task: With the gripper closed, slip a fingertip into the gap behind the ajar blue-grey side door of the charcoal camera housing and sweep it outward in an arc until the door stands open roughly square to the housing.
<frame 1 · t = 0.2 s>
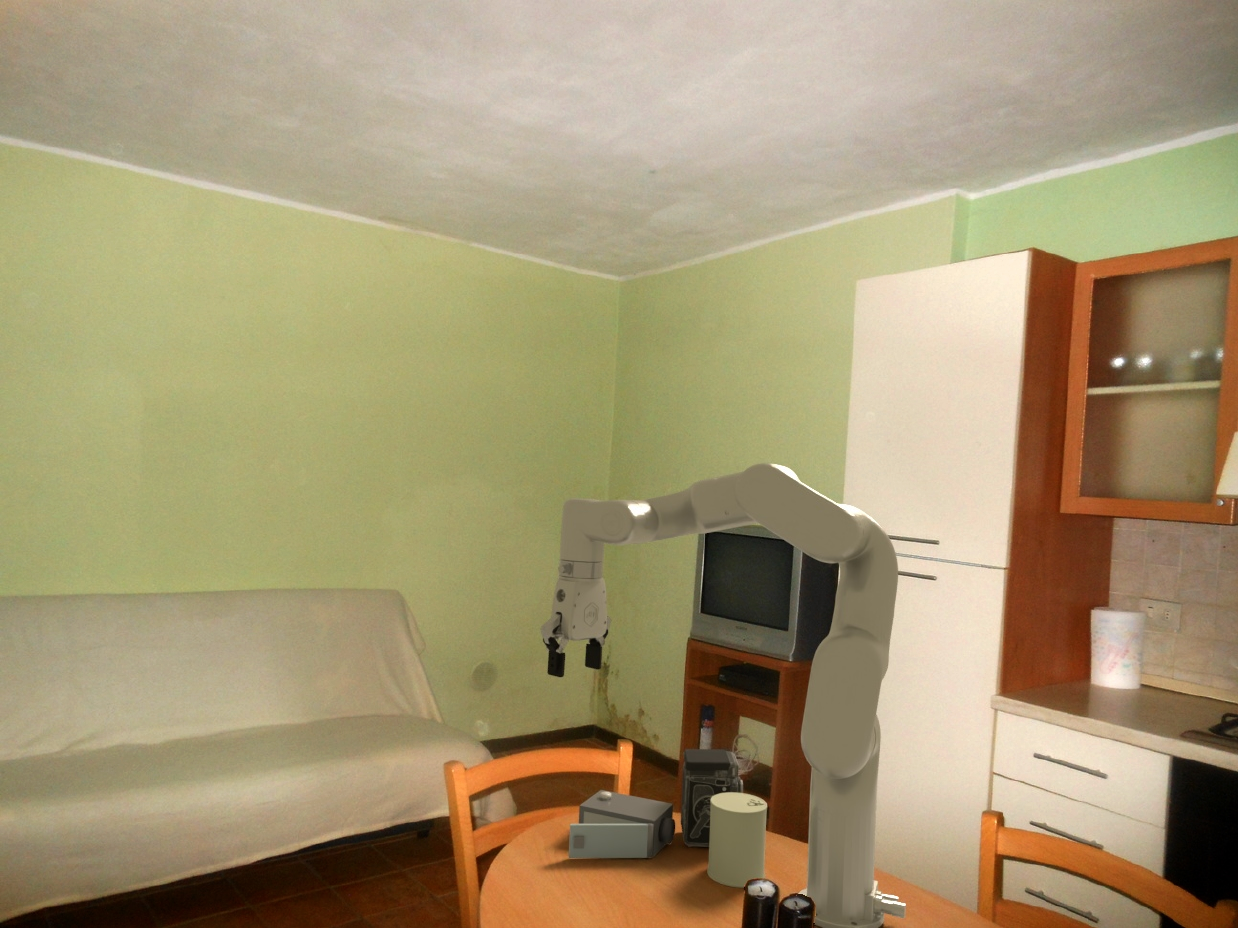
hand: (574, 671, 144), 30 cm above the table, fingers open, 9 cm apart
camera: (711, 841, 149), on the table
can: (735, 875, 136), on the table
housing: (625, 839, 148), on the table
side door: (611, 841, 140), point 3 cm above the table, hinge at 30.0°
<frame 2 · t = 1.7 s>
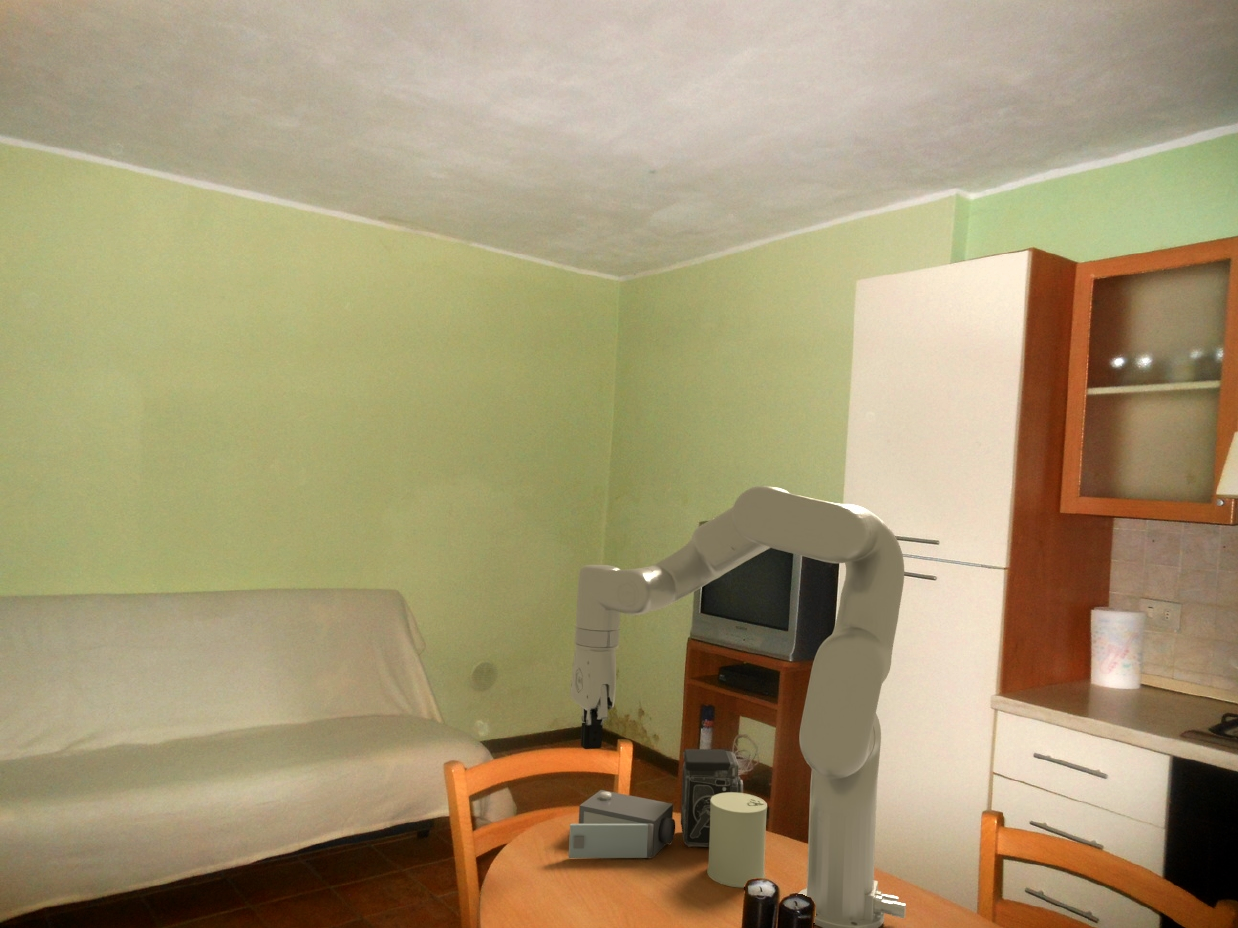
hand: (590, 746, 143), 17 cm above the table, fingers closed
nothing on the table moved.
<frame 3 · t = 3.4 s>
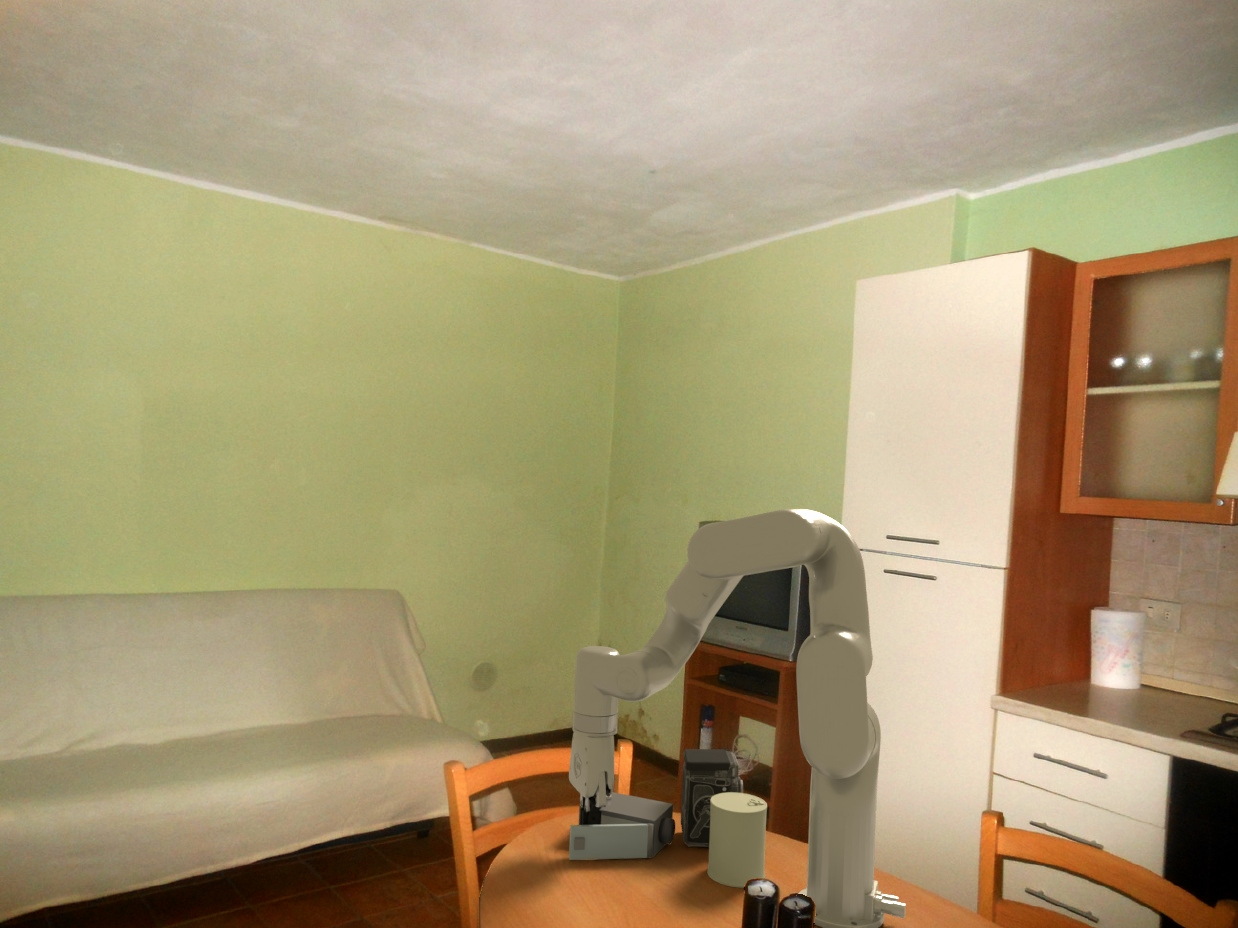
hand: (589, 832, 141), 4 cm above the table, fingers closed
side door: (611, 841, 139), point 3 cm above the table, hinge at 32.8°, touching gripper
everything else where it was.
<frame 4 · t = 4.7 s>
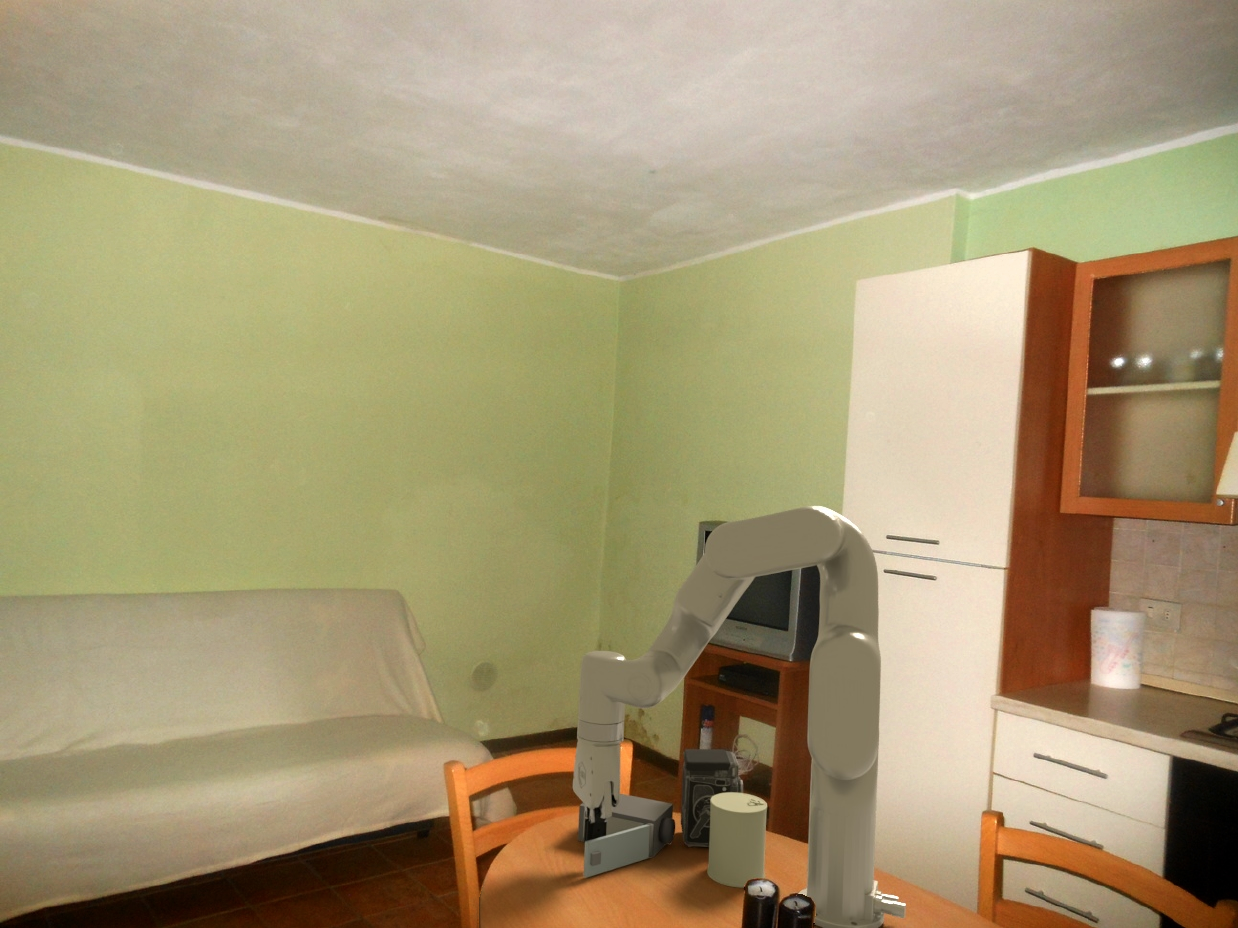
hand: (594, 844, 136), 4 cm above the table, fingers closed
side door: (620, 849, 136), point 3 cm above the table, hinge at 62.6°, touching gripper
everything else where it was.
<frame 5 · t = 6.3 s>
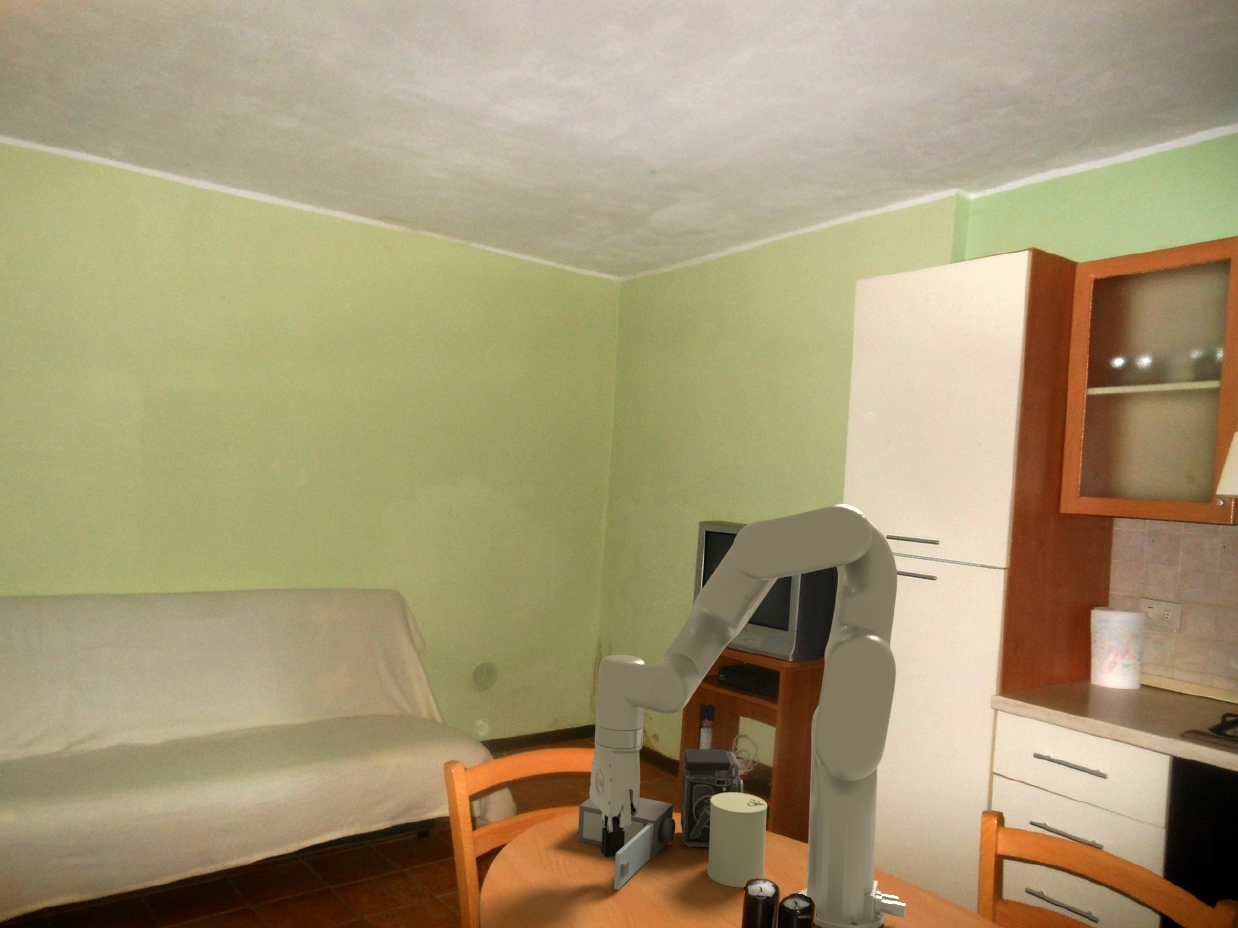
hand: (612, 853, 132), 4 cm above the table, fingers closed
side door: (635, 854, 135), point 3 cm above the table, hinge at 89.4°, touching gripper
everything else where it was.
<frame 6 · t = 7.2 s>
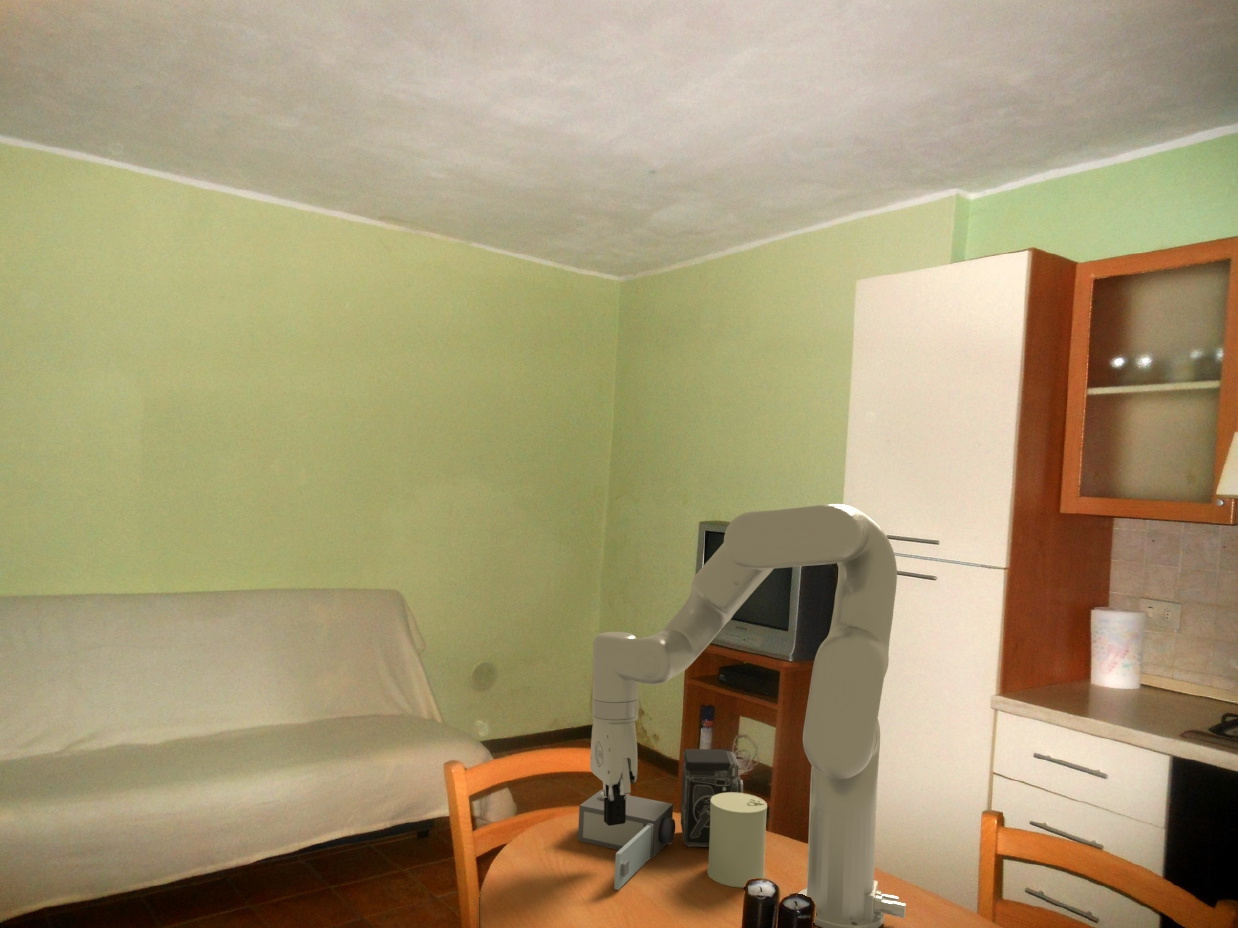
hand: (614, 822, 138), 7 cm above the table, fingers closed
side door: (635, 854, 135), point 3 cm above the table, hinge at 89.5°
everything else where it was.
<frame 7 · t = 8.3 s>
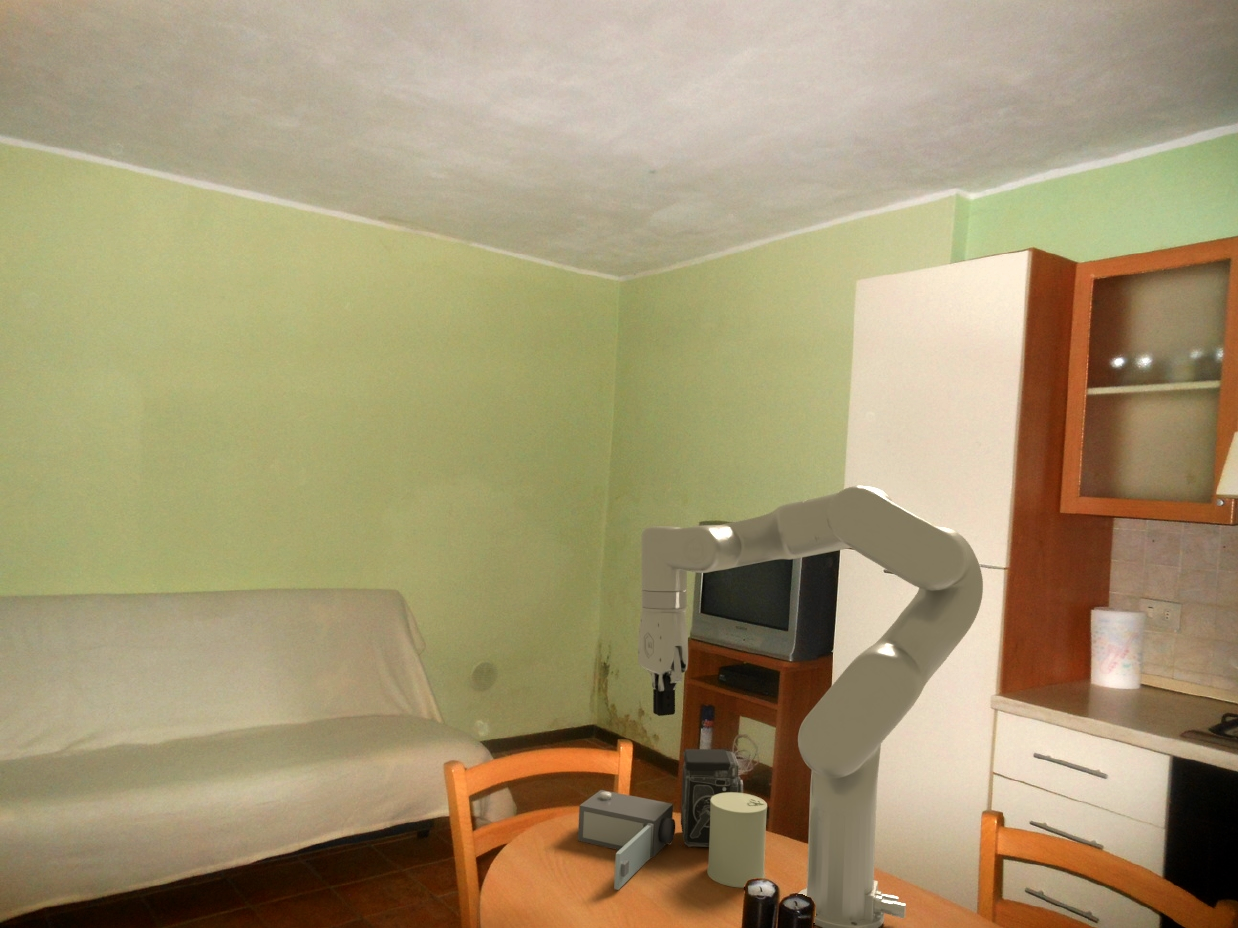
hand: (664, 713, 139), 25 cm above the table, fingers closed
nothing on the table moved.
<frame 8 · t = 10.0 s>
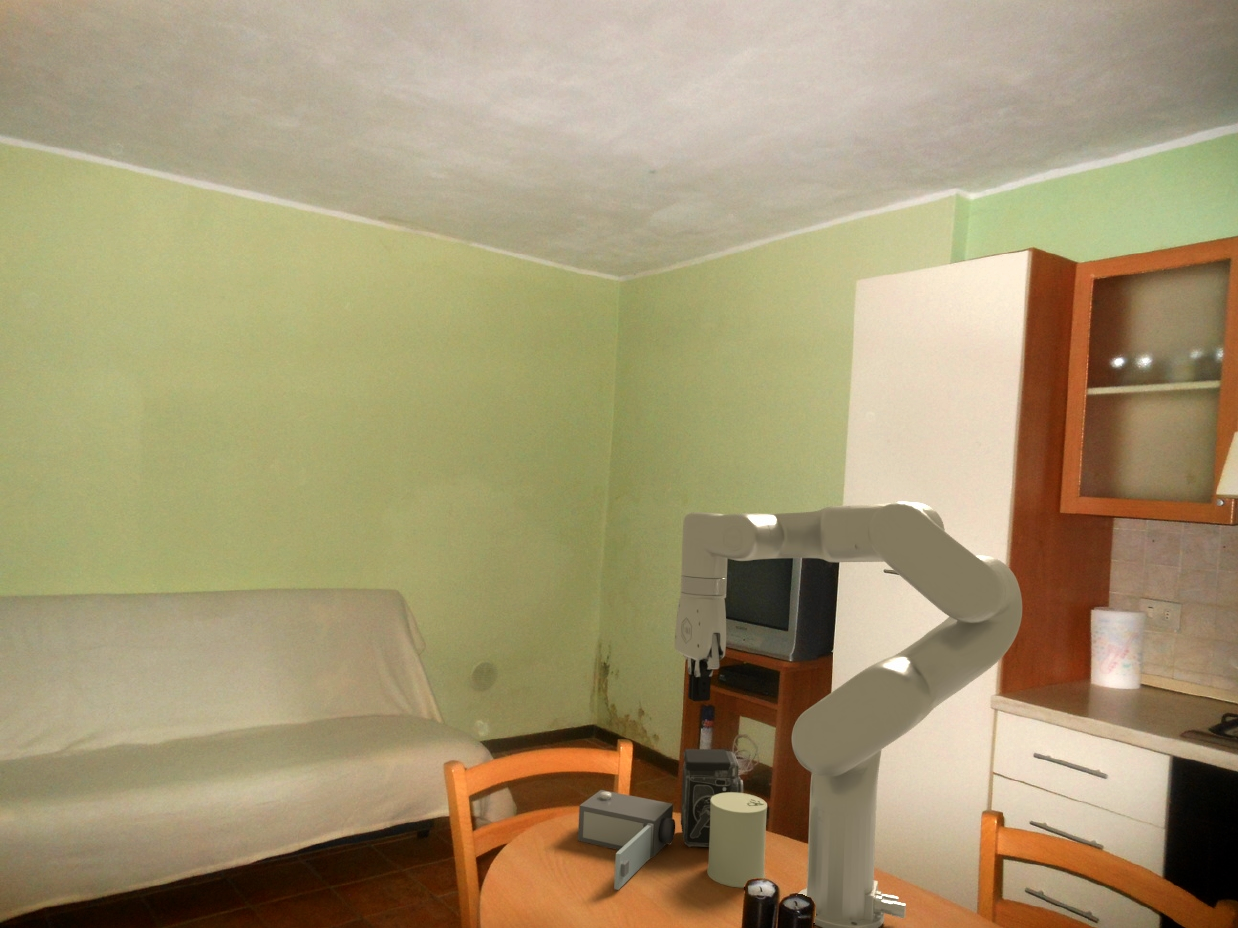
hand: (699, 699, 139), 27 cm above the table, fingers closed
nothing on the table moved.
at the end: side door at +90° (first picture: +30°) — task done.
